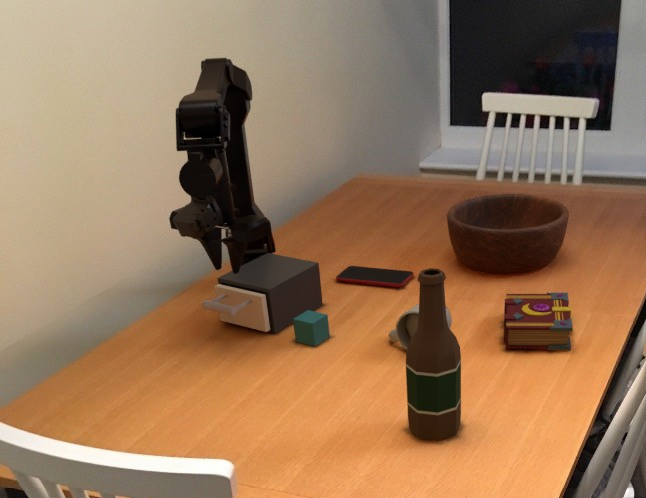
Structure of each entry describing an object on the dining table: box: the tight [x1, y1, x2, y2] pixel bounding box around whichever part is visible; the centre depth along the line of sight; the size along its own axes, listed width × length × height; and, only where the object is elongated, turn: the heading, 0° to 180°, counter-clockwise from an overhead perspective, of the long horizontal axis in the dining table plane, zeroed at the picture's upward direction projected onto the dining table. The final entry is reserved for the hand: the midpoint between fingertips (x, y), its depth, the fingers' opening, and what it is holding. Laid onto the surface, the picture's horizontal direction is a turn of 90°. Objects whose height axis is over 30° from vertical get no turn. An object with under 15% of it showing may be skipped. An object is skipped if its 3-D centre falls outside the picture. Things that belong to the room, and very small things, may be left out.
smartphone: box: [335, 265, 415, 288], centre depth 172 cm, size 7×1×15 cm
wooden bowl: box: [446, 193, 570, 276], centre depth 175 cm, size 25×25×10 cm
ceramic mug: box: [388, 303, 453, 351], centre depth 144 cm, size 11×8×8 cm
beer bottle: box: [405, 267, 462, 442], centre depth 116 cm, size 8×8×24 cm
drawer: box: [201, 283, 271, 333], centre depth 155 cm, size 19×11×7 cm, turn 146°
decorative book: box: [503, 292, 574, 351], centre depth 147 cm, size 11×16×5 cm
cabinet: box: [216, 253, 324, 334], centre depth 158 cm, size 15×13×9 cm
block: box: [292, 310, 330, 347], centre depth 149 cm, size 4×4×4 cm
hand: (227, 271), depth 147 cm, fingers open, 4 cm apart
